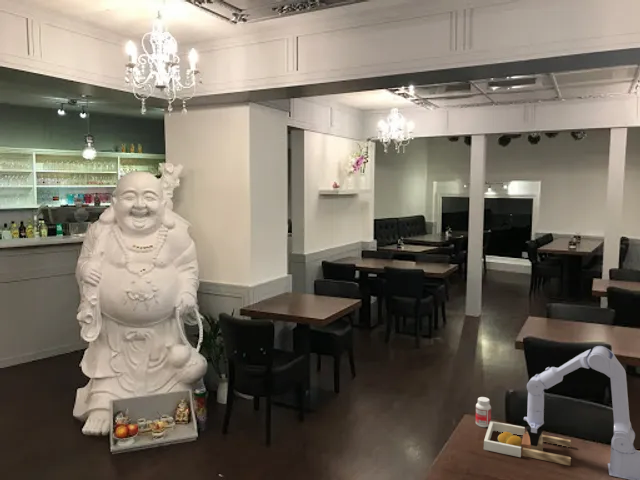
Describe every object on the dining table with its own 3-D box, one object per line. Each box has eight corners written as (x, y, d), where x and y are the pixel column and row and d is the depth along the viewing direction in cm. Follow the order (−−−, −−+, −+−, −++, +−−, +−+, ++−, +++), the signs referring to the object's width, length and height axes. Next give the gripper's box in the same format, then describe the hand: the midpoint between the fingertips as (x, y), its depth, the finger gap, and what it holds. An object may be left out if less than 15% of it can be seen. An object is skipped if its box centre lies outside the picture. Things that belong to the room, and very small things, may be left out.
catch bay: (524, 435, 202) (524, 427, 202) (520, 457, 186) (520, 448, 186) (490, 428, 208) (490, 420, 208) (483, 449, 192) (483, 440, 191)
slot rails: (570, 446, 193) (570, 439, 193) (570, 465, 180) (570, 459, 180) (525, 437, 201) (525, 431, 200) (522, 455, 187) (522, 449, 187)
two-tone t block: (543, 443, 195) (542, 428, 194) (542, 454, 187) (541, 438, 186) (523, 440, 198) (523, 425, 198) (522, 451, 190) (521, 436, 190)
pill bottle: (485, 420, 216) (486, 395, 215) (493, 426, 210) (494, 401, 209) (472, 421, 214) (473, 397, 213) (480, 428, 208) (480, 403, 207)
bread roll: (515, 452, 190) (515, 442, 190) (494, 442, 197) (494, 433, 197) (527, 445, 195) (527, 435, 195) (506, 436, 202) (507, 426, 202)
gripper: (525, 399, 199) (524, 432, 200) (522, 414, 186) (521, 449, 187) (545, 402, 196) (544, 435, 197) (543, 418, 183) (542, 453, 184)
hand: (534, 442), depth 192 cm, fingers closed on two-tone t block, 4 cm apart
